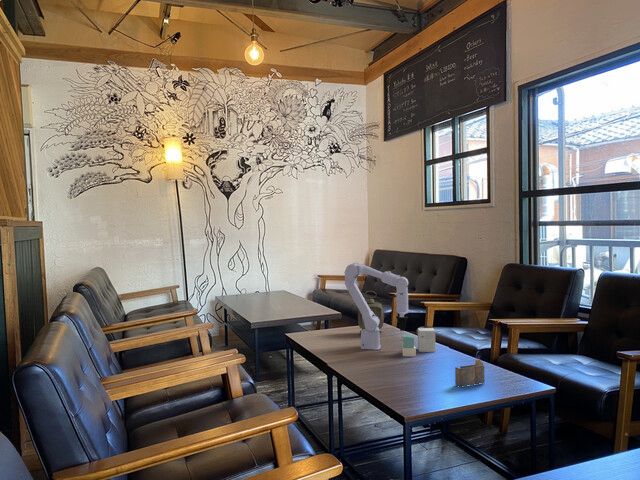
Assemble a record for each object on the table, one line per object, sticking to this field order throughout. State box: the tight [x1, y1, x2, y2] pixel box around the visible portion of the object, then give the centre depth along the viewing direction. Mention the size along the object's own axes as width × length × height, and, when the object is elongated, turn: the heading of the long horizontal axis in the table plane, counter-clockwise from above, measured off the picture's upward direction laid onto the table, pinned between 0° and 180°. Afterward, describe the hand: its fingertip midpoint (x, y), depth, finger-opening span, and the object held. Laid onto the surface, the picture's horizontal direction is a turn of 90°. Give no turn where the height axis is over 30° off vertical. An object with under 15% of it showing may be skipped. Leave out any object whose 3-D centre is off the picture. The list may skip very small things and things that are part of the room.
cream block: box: [401, 344, 417, 357], centre depth 217 cm, size 6×6×4 cm
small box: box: [417, 327, 437, 353], centre depth 224 cm, size 8×6×10 cm
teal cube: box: [402, 334, 415, 348], centre depth 217 cm, size 5×5×5 cm
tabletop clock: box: [357, 290, 385, 334], centre depth 257 cm, size 14×9×25 cm, turn 85°
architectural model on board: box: [454, 358, 485, 388], centre depth 175 cm, size 11×3×10 cm, turn 108°
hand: (402, 328), depth 225 cm, fingers open, 7 cm apart
